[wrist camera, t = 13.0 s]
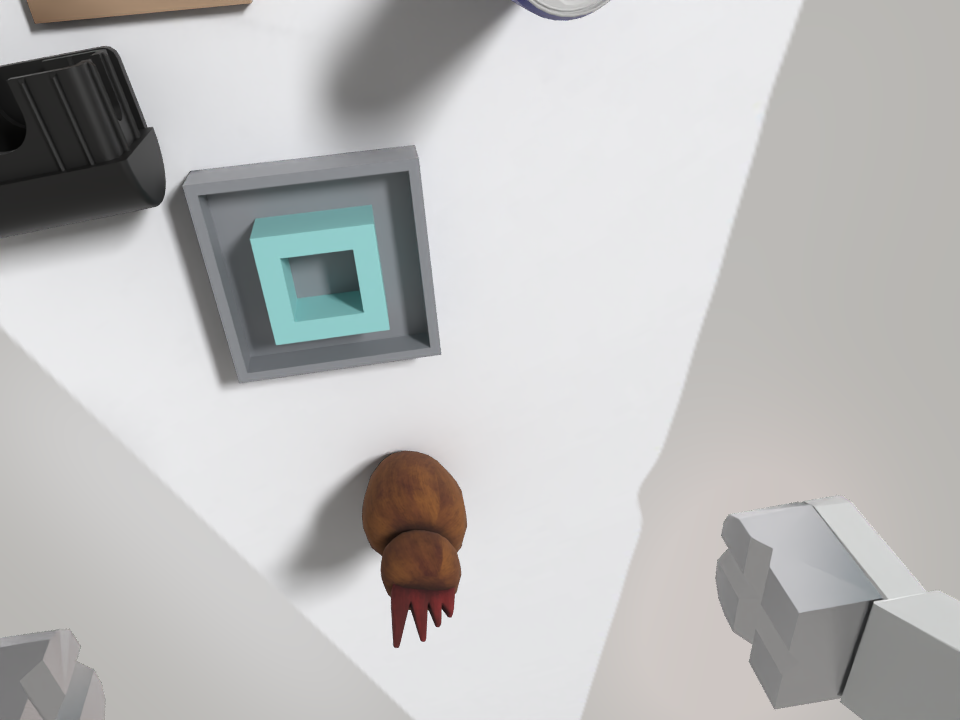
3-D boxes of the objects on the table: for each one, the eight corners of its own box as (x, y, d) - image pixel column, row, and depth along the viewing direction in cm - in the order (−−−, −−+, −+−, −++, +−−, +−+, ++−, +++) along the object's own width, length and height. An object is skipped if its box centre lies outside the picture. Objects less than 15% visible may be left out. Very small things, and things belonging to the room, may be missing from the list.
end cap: (-8, 216, 40) (-65, 268, 35) (-81, 80, 36) (-159, 113, 31) (178, 179, 41) (152, 224, 35) (125, 41, 37) (86, 66, 31)
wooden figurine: (346, 482, 53) (348, 663, 41) (390, 424, 51) (406, 595, 39) (426, 515, 56) (450, 694, 43) (470, 461, 54) (509, 632, 41)
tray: (190, 171, 41) (182, 185, 38) (414, 145, 42) (418, 158, 40) (243, 361, 47) (239, 383, 45) (436, 334, 48) (441, 354, 46)
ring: (255, 218, 42) (249, 239, 39) (371, 204, 42) (373, 223, 40) (279, 320, 45) (276, 345, 43) (387, 306, 46) (389, 329, 43)
